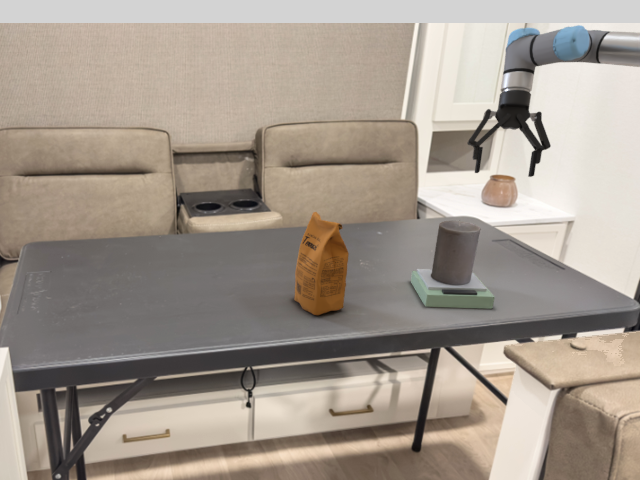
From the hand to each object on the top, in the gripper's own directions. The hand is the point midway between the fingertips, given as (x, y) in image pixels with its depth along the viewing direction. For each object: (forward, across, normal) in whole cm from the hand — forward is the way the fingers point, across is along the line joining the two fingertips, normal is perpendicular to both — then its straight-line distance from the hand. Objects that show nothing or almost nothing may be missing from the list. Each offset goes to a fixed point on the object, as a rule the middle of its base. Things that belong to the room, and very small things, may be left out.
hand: (503, 174), depth 155 cm
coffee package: (+38, +43, +28) cm, 64 cm away
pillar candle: (+29, +12, +14) cm, 34 cm away
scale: (+33, +12, +14) cm, 37 cm away
